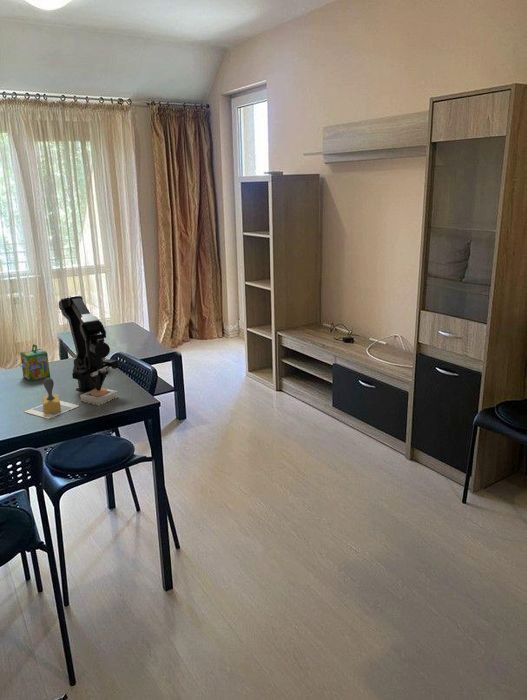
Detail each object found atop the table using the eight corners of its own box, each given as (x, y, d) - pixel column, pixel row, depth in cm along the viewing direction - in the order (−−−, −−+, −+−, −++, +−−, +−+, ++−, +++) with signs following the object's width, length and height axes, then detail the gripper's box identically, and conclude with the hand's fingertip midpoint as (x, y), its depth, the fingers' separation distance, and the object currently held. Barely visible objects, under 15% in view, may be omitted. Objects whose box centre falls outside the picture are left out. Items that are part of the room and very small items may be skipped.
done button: (110, 394, 212) (109, 389, 211) (98, 399, 207) (98, 393, 206) (99, 392, 215) (99, 386, 214) (88, 397, 210) (87, 391, 209)
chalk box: (22, 377, 242) (18, 345, 238) (43, 372, 248) (38, 341, 244) (30, 381, 235) (25, 349, 231) (51, 376, 241) (46, 344, 237)
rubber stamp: (43, 405, 206) (39, 375, 203) (59, 402, 208) (55, 373, 205) (44, 414, 197) (39, 383, 194) (60, 411, 199) (56, 380, 196)
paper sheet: (79, 406, 205) (79, 405, 204) (48, 419, 193) (48, 418, 193) (55, 400, 212) (55, 399, 212) (24, 412, 200) (24, 411, 200)
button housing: (118, 397, 213) (117, 391, 212) (98, 405, 205) (98, 399, 204) (100, 393, 218) (99, 387, 217) (81, 401, 210) (80, 395, 209)
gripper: (98, 343, 218) (102, 380, 222) (60, 355, 203) (65, 394, 207) (117, 347, 212) (121, 384, 217) (80, 359, 197) (85, 399, 201)
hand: (98, 390), depth 210 cm, fingers closed, pressing on done button
